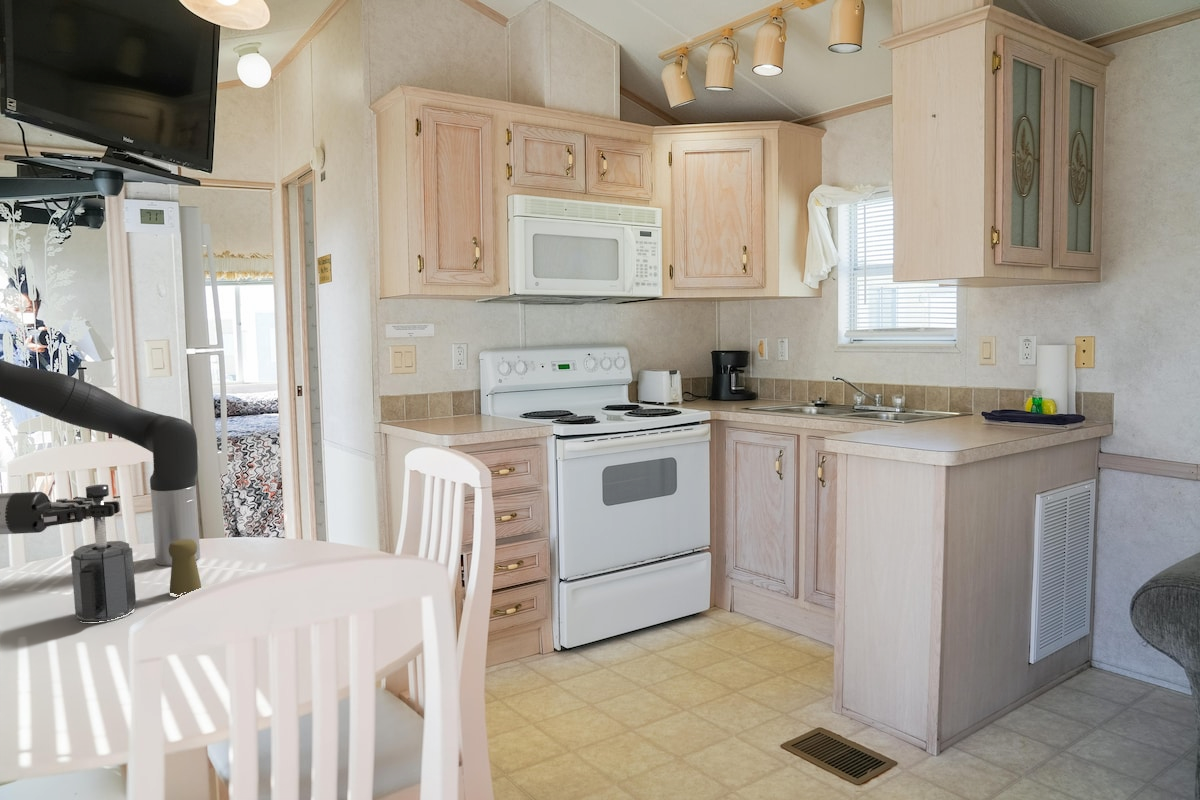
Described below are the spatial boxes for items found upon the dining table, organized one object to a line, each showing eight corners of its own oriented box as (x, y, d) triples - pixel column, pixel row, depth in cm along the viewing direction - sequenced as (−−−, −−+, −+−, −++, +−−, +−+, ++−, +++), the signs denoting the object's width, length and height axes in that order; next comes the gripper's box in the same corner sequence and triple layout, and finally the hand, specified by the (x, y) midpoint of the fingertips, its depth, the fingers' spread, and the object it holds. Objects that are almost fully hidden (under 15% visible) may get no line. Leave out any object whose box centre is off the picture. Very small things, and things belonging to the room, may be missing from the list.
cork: (188, 598, 164) (185, 545, 162) (162, 596, 165) (158, 543, 164) (208, 588, 170) (205, 536, 168) (183, 586, 171) (179, 535, 170)
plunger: (94, 590, 158) (86, 483, 155) (130, 588, 159) (122, 482, 156) (79, 602, 151) (70, 491, 149) (116, 600, 153) (108, 489, 150)
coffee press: (90, 607, 159) (85, 541, 158) (142, 603, 161) (138, 539, 160) (60, 631, 147) (55, 560, 146) (117, 627, 149) (112, 557, 148)
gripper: (-9, 501, 144) (99, 497, 147) (31, 485, 157) (129, 481, 160) (-5, 543, 145) (102, 538, 148) (34, 523, 158) (132, 519, 161)
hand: (115, 508), depth 154 cm, fingers closed on plunger, 2 cm apart
